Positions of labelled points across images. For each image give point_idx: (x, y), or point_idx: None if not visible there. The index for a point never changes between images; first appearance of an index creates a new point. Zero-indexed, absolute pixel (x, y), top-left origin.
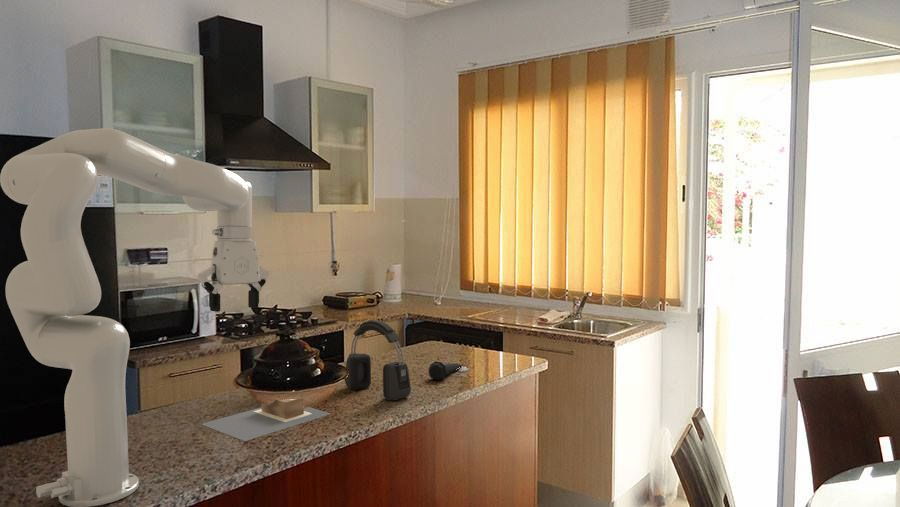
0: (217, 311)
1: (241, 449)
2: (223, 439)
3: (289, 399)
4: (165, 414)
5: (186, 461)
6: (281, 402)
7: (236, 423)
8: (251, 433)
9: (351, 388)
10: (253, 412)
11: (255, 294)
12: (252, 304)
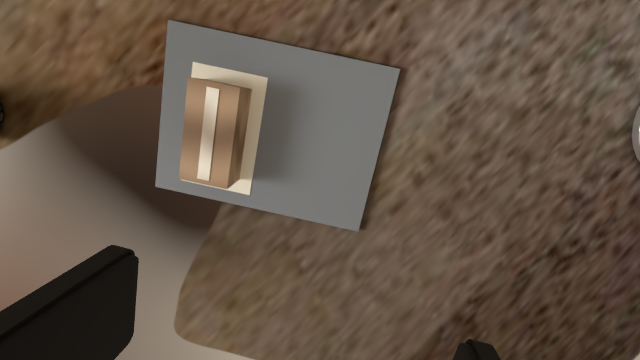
0: (485, 345)
1: (426, 51)
2: (395, 132)
3: (218, 97)
4: (335, 339)
5: (521, 102)
6: (238, 108)
7: (323, 169)
8: (356, 92)
9: (1, 113)
10: (253, 190)
11: (27, 331)
12: (118, 305)
